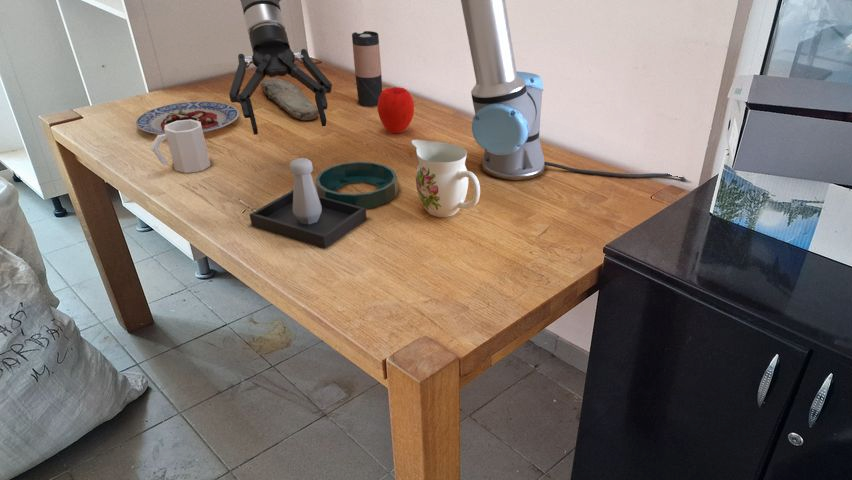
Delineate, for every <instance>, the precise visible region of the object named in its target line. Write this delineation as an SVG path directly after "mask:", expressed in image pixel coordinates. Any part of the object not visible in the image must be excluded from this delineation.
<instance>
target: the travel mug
mask: <svg viewBox="0 0 852 480" xmlns="http://www.w3.org/2000/svg"><path fill="white" fill-rule="evenodd" d="M351 38H352V39H351V41H352V53H353V66H354V77H355V84H356V93H357V100H358V104H359V105H360V106H362V107H368V108H370V107H372V108H373V107H377V106H378V99H379V96H380V94H381V92H382V91H383V81H382V80H383V76H382V62H381V50H380V49H381V48H380V39H379V38H380V37H379V33H378V32H376V31H372V30H365V31H363V32H361V33H358V31H357V32H356V31H355V32H353V33H351Z"/></svg>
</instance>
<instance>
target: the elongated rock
mask: <svg viewBox="0 0 852 480" xmlns="http://www.w3.org/2000/svg"><path fill="white" fill-rule="evenodd" d="M260 87H261V90H262V92H264V94H266V95H267V96H268V100H271V101H273V102H274V103H276V104H277V105H278V106H279V107H280V108H281V109H283V110H284V111H285V112H287V113H288V114H289V115H290V116H291V117H292V118H295V119H298V120H300V121H314V120H316V119H317V118H318V117H319V112H318V109H317V105H316V104H314V103H313V102H312V101H311V99H309V98H308V96H306V95H305V94H304V93H303V92H302V90H301V88H300V87H299V86H296V85H295V84H293V83H291V82H289V81H286V80H284V79H281V78H276V77H270V78H266V79H263V80H262V81H261V82H260Z"/></svg>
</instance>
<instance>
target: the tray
mask: <svg viewBox="0 0 852 480" xmlns="http://www.w3.org/2000/svg"><path fill="white" fill-rule="evenodd" d="M318 197H319V200H320V203H321V206H322V212H321V214H320V217H319V219H318V221H317V222H315V223H312V224H302V223H300V222H299V220H298V219H297V218H296V216H295V215H294V214H293V189H291V190H290V191H288V192H287V193H285V194H283V195H281V196H279V197H278V198H276V199H274V200H272V201H271V202H269V203H267V204H265V205H263V206H261V207H260V208H258V209H257V210H255V211H252V212H251V213H249V220H250V223H251V226H252V227H255V228H258V229H261V230H264V231H268V232H271V233H275V234H278V235H281V236H284V237H287V238H291V239H293V240H297V241H300V242H304V243H307V244H310V245H313V246H316V247H320V248H323V249H327V248H328V247H329V246H330V245H332V244H334V243H335V242H336V241H338V240H340V239H341V238H342V237H343V236H345V235H346V234H348V233H349V232H351V231H352V230H353V229H355V228H356V227H357V226H359V225H360V224H362V223H363V222H365V221H366V220H367V219H368V218H367V209H366V208H363V207H359V206H356V205H352V204H348V203H345V202H341V201H337V200H334V199H330V198H326V197H323V196H319V195H318Z"/></svg>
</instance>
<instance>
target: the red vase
mask: <svg viewBox="0 0 852 480" xmlns="http://www.w3.org/2000/svg"><path fill="white" fill-rule="evenodd" d="M376 108H377V113H378V117H379V121H380V122H381V124H382V125H383V127H384V128H385V129H386V130H387V131H388V132H389V133H390V134H398V133H399V134H400V133H402V132H404V131H406V130H407V128H408V127H409V126H410V124H411V122H412V120H413V117H414V115H415V102H414V99H413V97H412V95H411V92H409V91H408V90H407V88H404V87H397V86H393V87H390V88H385V89H382V92H381V94H380V96H379V99H378V106H376Z"/></svg>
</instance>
